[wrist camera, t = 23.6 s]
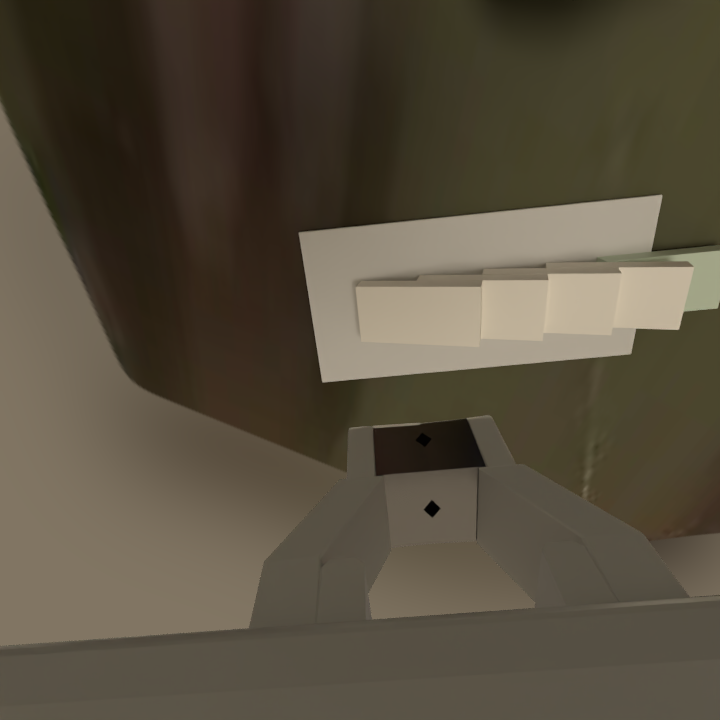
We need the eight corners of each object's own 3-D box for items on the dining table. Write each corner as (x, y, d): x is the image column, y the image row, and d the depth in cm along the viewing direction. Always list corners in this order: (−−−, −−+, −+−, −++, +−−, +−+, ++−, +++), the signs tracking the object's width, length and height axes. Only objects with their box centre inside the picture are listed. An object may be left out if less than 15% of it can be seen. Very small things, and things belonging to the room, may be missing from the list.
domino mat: (322, 380, 42) (322, 382, 42) (299, 232, 36) (298, 232, 35) (628, 352, 41) (631, 353, 40) (659, 194, 35) (662, 194, 34)
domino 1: (361, 341, 38) (479, 347, 35) (355, 286, 36) (481, 286, 33) (366, 334, 39) (480, 338, 36) (361, 280, 37) (482, 280, 34)
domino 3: (480, 330, 38) (611, 335, 34) (482, 274, 35) (622, 273, 32) (482, 323, 39) (608, 327, 36) (483, 268, 37) (618, 267, 33)
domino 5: (596, 257, 36) (719, 244, 36) (588, 313, 39) (704, 302, 38) (606, 261, 35) (734, 249, 35) (598, 319, 37) (717, 308, 37)
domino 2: (418, 336, 38) (542, 340, 35) (416, 280, 36) (548, 280, 32) (422, 329, 39) (541, 333, 36) (420, 275, 37) (547, 273, 34)
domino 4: (541, 325, 37) (678, 329, 34) (546, 267, 35) (694, 267, 32) (540, 318, 39) (673, 322, 35) (545, 262, 36) (687, 261, 33)
